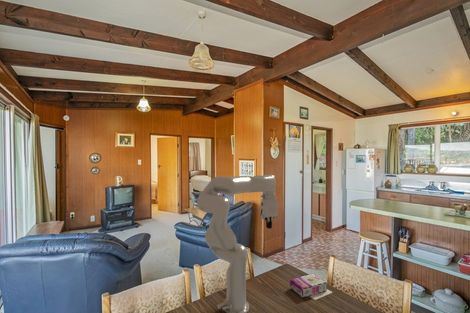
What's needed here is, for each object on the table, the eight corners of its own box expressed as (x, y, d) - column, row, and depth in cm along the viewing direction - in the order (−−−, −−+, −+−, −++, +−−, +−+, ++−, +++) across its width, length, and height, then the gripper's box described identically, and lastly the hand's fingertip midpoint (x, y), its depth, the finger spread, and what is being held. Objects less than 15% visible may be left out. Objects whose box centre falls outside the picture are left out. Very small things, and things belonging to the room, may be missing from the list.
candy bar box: (302, 298, 129) (327, 291, 135) (302, 289, 128) (327, 282, 135) (289, 287, 139) (313, 281, 145) (289, 278, 139) (313, 272, 145)
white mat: (315, 300, 127) (315, 299, 127) (289, 283, 144) (289, 282, 144) (332, 292, 134) (332, 292, 134) (306, 277, 150) (306, 276, 150)
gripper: (262, 198, 137) (262, 232, 137) (283, 196, 144) (283, 227, 144) (254, 196, 143) (254, 228, 144) (274, 194, 150) (275, 224, 151)
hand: (269, 227), depth 144 cm, fingers closed
